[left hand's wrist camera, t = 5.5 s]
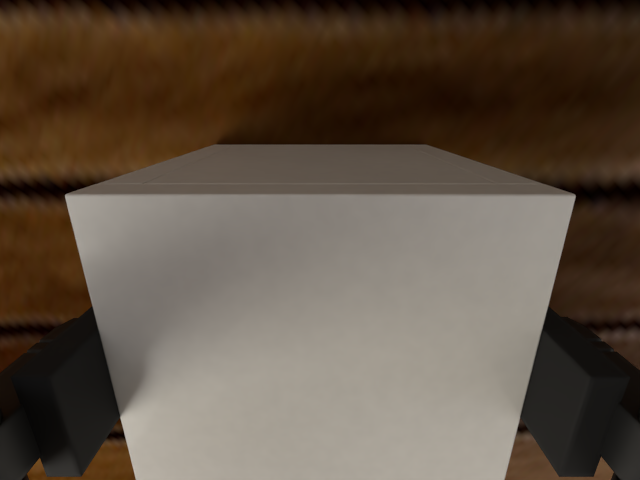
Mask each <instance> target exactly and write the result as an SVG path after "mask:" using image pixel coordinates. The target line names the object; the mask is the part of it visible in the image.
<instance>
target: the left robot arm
mask: <svg viewBox="0 0 640 480" xmlns="http://www.w3.org/2000/svg"><path fill="white" fill-rule="evenodd" d="M520 417H521V419H522V420H523V422H524V423H525V425H526V426H527V428H528V429H529V431H530V433H531V434H532V436H533V437H534V439H535V440H536V442H537V443H538V445H539V446H540V448H541V449H542V451H543V452H544V454H545V456H546V457H547V459H548V460H549V462H550V463H551V465H552V466H553V468H554V469H555V471H556V472H557V474H558V476H559V477H594V474H595V471H596V468H597V466H598V463H599V460H600V458H601V456H602V458H603V459H604V460H605V461H606V463H607V464H608V465H609V466H610V468H611V469H612V470H613V471H614V473H613V476H612V478H611V480H640V370H638V369H637V368H636V367H635V366H633V365H632V364H631V363H630V362H629V361H627V360H626V359H625V358H624V357H622V356H621V355H620V354H619V353H618V352H614V349H613V348H611V347H610V346H609V345H608V344H607V343H605V342H602V341H601V339H600V338H599V337H598V336H597V335H596V334H594V333H593V332H592V331H591V330H589V329H588V328H587V327H585V326H583V325H581V324H579V323H578V322H576V321H574V320H572V319H570V318H568V317H560V316H559V315H558V314H557V313H555V312H554V311H553V310H552V309H551V308H550V307H548V309H547V313H546V317H545V321H544V325H543V329H542V333H541V337H540V341H539V345H538V349H537V353H536V356H535V360H534V364H533V368H532V372H531V376H530V380H529V384H528V388H527V392H526V396H525V400H524V404H523V408H522V412H521V416H520ZM119 418H120V414H119V410H118V406H117V402H116V398H115V394H114V390H113V386H112V382H111V378H110V374H109V370H108V366H107V362H106V358H105V354H104V350H103V346H102V342H101V338H100V334H99V330H98V326H97V322H96V318H95V314H94V310H93V306H92V307H91V308H90V309H89V310H87V311H86V312H85V313H84V314H83V315H82V316H80V317H79V318H73V319H71V320H69V321H67V322H66V323H64V324H62V325H60V326H58V327H56V328H54V329H53V330H52V331H51V332H49V333H48V334H47V335H46V336H44V337H43V338H42V339H41V340H40V342H39V343H36V344H35V345H34V346H32V347H31V348H30V349H29V350H27V353H24V354H23V355H21V356H20V357H19V358H18V359H17V360H15V361H14V362H13V363H12V364H10V365H9V366H8V367H7V368H6V369H4V370H3V371H2V372H1V373H0V480H29V478H28V476H27V473H28V471H29V470H30V469H31V468H32V466H33V465H34V464H35V463H36V461H37V460H38V459H39V458H40V459H41V462H42V464H43V467H44V470H45V472H46V475H47V477H81V476H82V475H83V473H84V472H85V470H86V468H87V467H88V465H89V464H90V462H91V461H92V459H93V458H94V456H95V455H96V453H97V452H98V450H99V448H100V447H101V445H102V444H103V442H104V441H105V439H106V438H107V436H108V435H109V433H110V432H111V430H112V428H113V427H114V425H115V424H116V422H117V421H118V419H119Z"/></svg>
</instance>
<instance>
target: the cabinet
mask: <svg viewBox="0 0 640 480" xmlns="http://www.w3.org/2000/svg"><path fill="white" fill-rule="evenodd" d="M575 197H576V196H575V194H573V193H570V192H567V191H564V190H561V189H558V188H555V187H552V186H549V185H546V184H542V183H539V182H536V181H534V180H531V179H528V178H525V177H522V176H519V175H516V174H513V173H510V172H507V171H504V170H501V169H498V168H495V167H492V166H489V165H486V164H483V163H480V162H477V161H474V160H471V159H468V158H465V157H462V156H459V155H456V154H453V153H450V152H447V151H444V150H441V149H438V148H435V147H432V146H429V145H212V146H209V147H206V148H203V149H200V150H197V151H194V152H191V153H188V154H185V155H182V156H179V157H176V158H173V159H170V160H167V161H164V162H161V163H158V164H155V165H152V166H149V167H146V168H143V169H140V170H137V171H134V172H131V173H128V174H125V175H122V176H119V177H116V178H113V179H110V180H107V181H104V182H101V183H99V184H95V185H92V186H89V187H86V188H83V189H80V190H77V191H74V192H71V193H68V194H66V195H65V198H66V202H67V206H68V210H69V214H70V218H71V222H72V226H73V230H74V234H75V238H76V242H77V246H78V250H79V254H80V258H81V262H82V266H83V270H84V274H85V278H86V282H87V286H88V290H89V294H90V298H91V302H92V306H93V310H94V314H95V318H96V322H97V326H98V330H99V334H100V338H101V342H102V346H103V350H104V354H105V358H106V362H107V366H108V370H109V374H110V378H111V382H112V386H113V390H114V394H115V398H116V402H117V406H118V410H119V414H120V418H121V422H122V426H123V430H124V433H125V437H126V441H127V445H128V449H129V453H130V457H131V461H132V465H133V469H134V473H135V477H136V480H505V476H506V472H507V468H508V464H509V460H510V456H511V452H512V448H513V444H514V440H515V436H516V432H517V428H518V424H519V420H520V416H521V412H522V408H523V404H524V400H525V396H526V392H527V388H528V384H529V380H530V376H531V372H532V368H533V364H534V360H535V356H536V353H537V349H538V345H539V341H540V337H541V333H542V329H543V325H544V321H545V317H546V313H547V309H548V305H549V301H550V297H551V293H552V289H553V285H554V281H555V277H556V273H557V269H558V265H559V261H560V257H561V253H562V249H563V245H564V241H565V237H566V233H567V229H568V225H569V221H570V217H571V213H572V209H573V205H574V201H575Z"/></svg>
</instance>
